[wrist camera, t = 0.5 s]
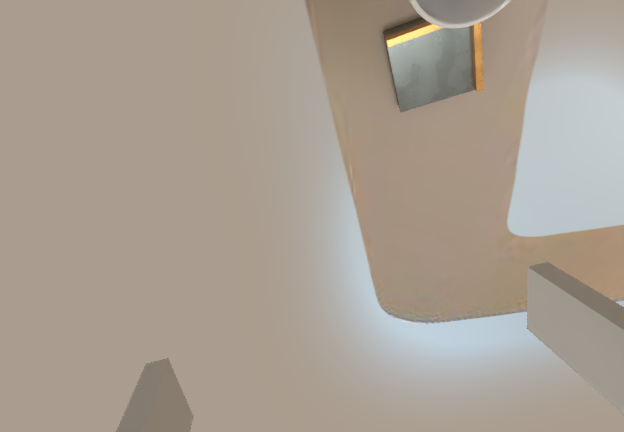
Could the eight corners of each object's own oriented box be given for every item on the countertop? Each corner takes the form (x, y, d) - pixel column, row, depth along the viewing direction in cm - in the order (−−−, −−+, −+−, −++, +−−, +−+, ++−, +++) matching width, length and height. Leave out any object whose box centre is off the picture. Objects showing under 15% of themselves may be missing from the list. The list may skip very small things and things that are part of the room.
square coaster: (383, 31, 34) (386, 40, 32) (471, -1, 32) (480, 7, 30) (398, 105, 39) (402, 117, 37) (475, 81, 37) (483, 92, 35)
